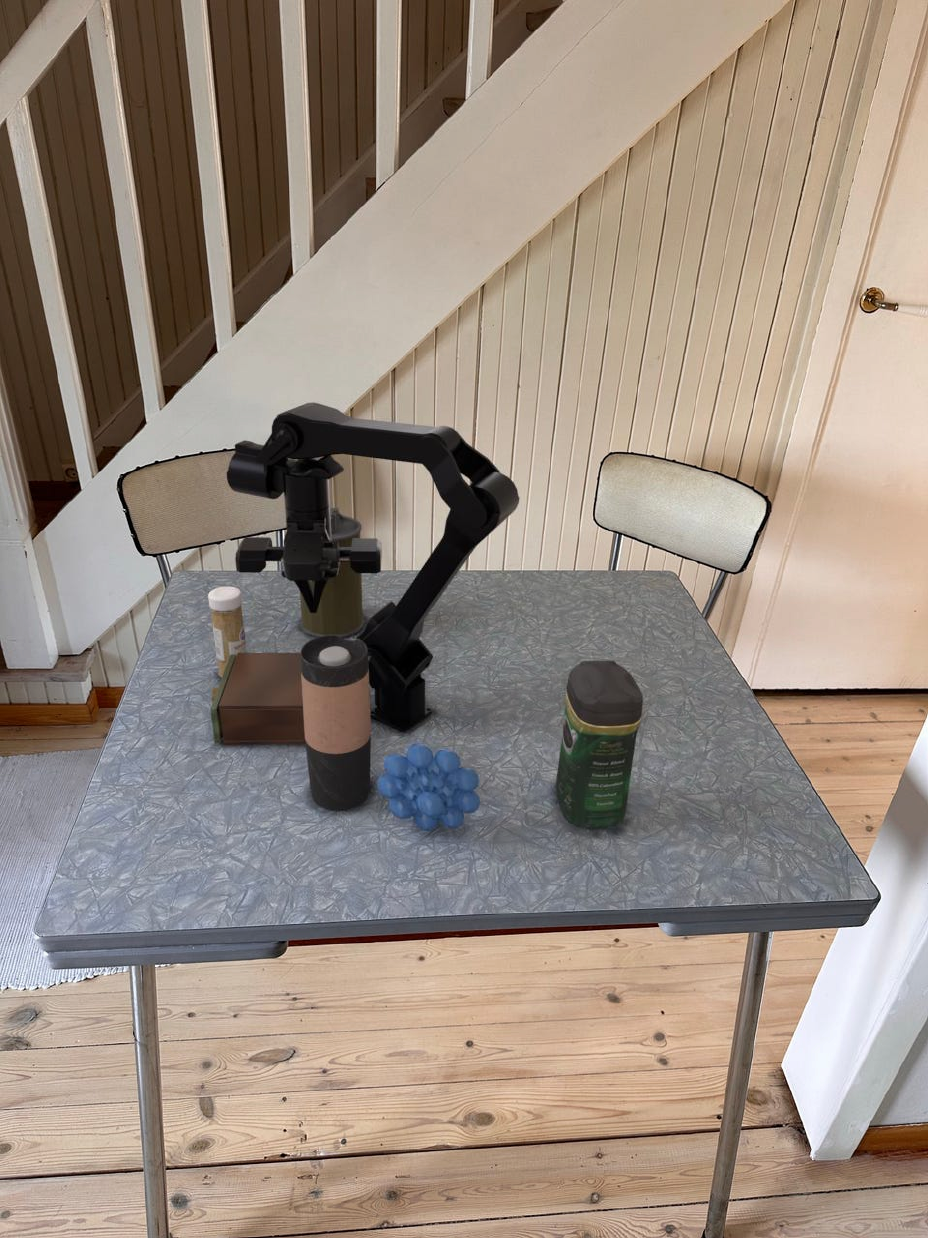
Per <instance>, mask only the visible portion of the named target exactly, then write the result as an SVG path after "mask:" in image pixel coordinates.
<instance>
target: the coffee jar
mask: <svg viewBox="0 0 928 1238" xmlns="http://www.w3.org/2000/svg"><path fill="white" fill-rule="evenodd" d="M564 704H565V705H564V719H563V727H562V735H561V743H560V751H559V757H558V765H557V770H556V771H557V772H556V778H555V796H556V799H557V802H558V805H559V808H560V811H561V813H562V815H563V817H564V818H565V820H566V821H567V823H569V824H570V825H571V826H575V827H577V828H581V829H587V830H593V831H594V830H597V831H598V830H599V831H600V830H606V829H610V828H614V827H616V826H619V825H620V824H622V822H624V820H625V817H626V813H627V807H628V806H627V805H628V800H629V792H630V784H631V777H632V769H633V762H634V757H635V750H636V744H637V743H636V742H637V735H638V731H639V728H640V725H641V723H642V722H641V721H642V716H643V704H644V695H643V693H642V691H641V689H640V687H639V685H638V683H637V681H636V680H635V679H634V676H633V675H632V674H631V673H630V672H629V671H628V670H627V669H626V668H625V667H623V666H621V665H620V664H618V663H617V662H616V661H615V660H603V659H601V660H599V659H597V660H596V659H595V660H582V661H580V663H578V664H576V665H575V666H574V667H573V668H572V669H571V671H570V672H569V674H568V678H567V682H566V688H565V703H564Z"/></svg>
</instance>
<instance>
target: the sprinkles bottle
mask: <svg viewBox="0 0 928 1238" xmlns="http://www.w3.org/2000/svg"><path fill="white" fill-rule="evenodd" d="M207 598H208V606H209V608H210V611H211V620H212V631H213V640H214V646H215V647H214V649H215V656H216V658H217V666H218V670H217V672H218V676H219V677H220V679H222V676H223V673H224V671H225V668H226V665H227V662H228V660H229V657H230V655H231V654H236V656H237V653H248V651H247V650H248V649H247V641H246V632H245V625H244V618H243V609H242V604H243V596H242V592H241V590H240V589H239V588H237V587H234V586H219V587H216V588H214V589H212V590H210V591H209V592H208V595H207Z"/></svg>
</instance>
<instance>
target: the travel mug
mask: <svg viewBox="0 0 928 1238" xmlns="http://www.w3.org/2000/svg"><path fill="white" fill-rule="evenodd" d="M299 653H300V661H301V679H302V696H303V713H304V731H305V743H306V744H305V752H306V760H307V769H308V770H307V771H308V778H309V788H310V794H311V798H312V801H313V802H314V803H315V804H316V805H317V806H318V807H320V808H322V809H324V810H328V811H331V812H332V811H333V812H344V811H348V810H353V809H355V808H358V807H360V806H361V805H362V804H364V803H365V801H366V800H367V799H368V797H369V795H370V792H371V767H372V766H371V759H372V758H371V757H372V756H371V755H372V747H371V746H372V726H371V724H372V722H371V721H372V720H371V717H370V711H371V697H370V684H369V664H368V649H367V646H366V645H365V643H364V642H363V641H361V640H360V639H356V638H355V639H354V640H353V639H346V638H344V637H343V638H341V637H340V636H338V635H335V634H333V635H325V636H320V637H315V638H312V639H310V640H308V641H307V642H306V643H304V644H303V645H302V647H301V649H300V652H299Z"/></svg>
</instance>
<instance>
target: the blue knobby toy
mask: <svg viewBox="0 0 928 1238" xmlns="http://www.w3.org/2000/svg"><path fill="white" fill-rule="evenodd" d="M461 764H462V763H461V758H460V756H459V755H458V754H457V753H456V752H455V751H454V750H451V749H449V748H443V749H439V750H438V751H436V752H435V754H434V753H433V751H432V749H430V747H429V746H427V745H425V744H423V743H413V744H411V745H410V746H409V747H408V748H407V751H406V754H405V756H404V755H403V754H401V753H398V752H397V753H390V754H388V755H387V756H386V757H385V759H384V762H383V767H384V772H385V773H384V774H382V775H381V776H380V777H379V778H378V781H377V783H376V786H377V791H378V792H379V794H381V796H383V797H384V798H386V799H389V803H388V807H389V811H390V812H391V815H393V816H394V817H396V818H397V819H399V820H408V819H411V818H412V819H413V823H414V824H415V826H416V827H417V828H418V829H421V830H423V831H425V832H426V831H427V832H428V831H434V830H435V829H436V828H437V827H438V825H439V822H440V823H441V824H442V825H443V826H444V827H446V828H448V829H457V828H459V827H461V826H462V825H463V823H464V821H465V819H466V818H465V814H474V813H475V812H477V811H478V810H479V808H480V805H481V799H480V796H479V794H477V793H476V791H475V790H476V789H477V788H478V786H479V784H480V783H479V782H480V778H479V775H478V774H477V773H476V771H475V769H474V770H473V769H472V768H470V767H468V766H461Z"/></svg>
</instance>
